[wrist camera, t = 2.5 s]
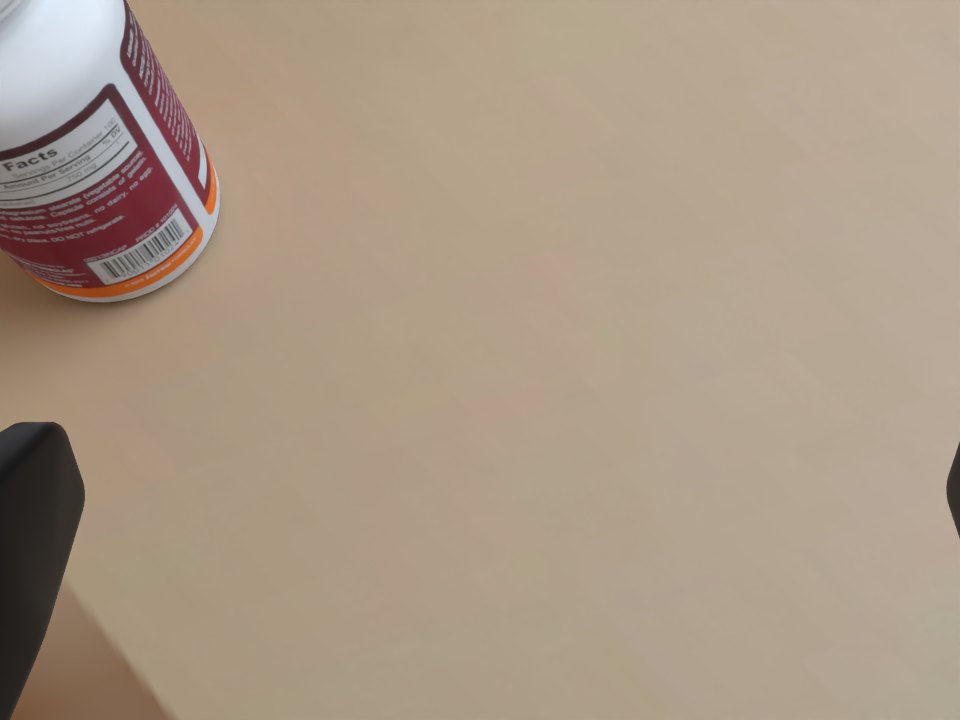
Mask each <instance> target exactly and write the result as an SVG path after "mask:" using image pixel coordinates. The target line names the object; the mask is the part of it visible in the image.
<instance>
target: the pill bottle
mask: <svg viewBox="0 0 960 720" xmlns="http://www.w3.org/2000/svg"><path fill="white" fill-rule="evenodd" d="M219 208H220V190H219V182H218V178H217V174H216V171H215V168H214V166H213V164H212V161H211V159H210V156H209V154H208V152H207V150H206V148H205V146H204V145H203V143H202V141H201V139H200V138H199V136H198V134H197V132H196V130H195V129H194V127H193V125H192V123H191V121H190V119H189V117H188V116H187V114H186V112H185V110H184V108H183V106H182V104H181V103H180V101H179V99H178V97H177V95H176V93H175V92H174V90H173V88H172V86H171V84H170V82H169V80H168V78H167V77H166V75H165V73H164V71H163V69H162V67H161V65H160V63H159V62H158V60H157V58H156V56H155V54H154V52H153V50H152V48H151V46H150V44H149V42H148V40H147V39H146V37H145V35H144V33H143V32H142V30H141V28H140V26H139V24H138V22H137V21H136V19H135V17H134V14H133V13H132V11H131V9H130V7H129V5H128V3H127V1H126V0H0V248H2V249H3V250H4V251H5V252H6V253H7V254H8V255H9V256H10V257H11V258H12V259H13V260H14V261H15V262H16V263H17V264H18V265H19V266H20V267H21V268H22V269H23V270H24V271H26V272H27V273H28V274H29V275H30V276H31V277H33V278H34V279H35V280H37V281H38V282H39V283H41V284H42V285H43V286H45V287H47V288H48V289H50V290H52V291H54V292H56V293H58V294H60V295H63V296H66V297H69V298H72V299H76V300H81V301H87V302H116V301H122V300H127V299H131V298H135V297H139V296H142V295H144V294H147V293H149V292H152V291H154V290H156V289H158V288H160V287H162V286H164V285H166V284H167V283H169V282H171V281H172V280H174V279H175V278H177V277H178V276H179V275H181V274H182V273H183V272H184V271H186V270H187V269H188V268H189V267H190V266H191V265H192V264H193V263H194V261H195V260H196V259H197V258H198V256H199V255H200V254H201V252H202V251H203V249H204V248H205V246H206V244H207V243H208V241H209V239H210V237H211V235H212V233H213V230H214V228H215V225H216V222H217V218H218V213H219Z"/></svg>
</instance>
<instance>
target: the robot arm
mask: <svg viewBox="0 0 960 720" xmlns="http://www.w3.org/2000/svg"><path fill="white" fill-rule="evenodd" d="M946 488H947V500H948V504H949V507H950V510H951V513H952V517H953V520H954V523H955V526H956V529H957V532H958V535H959V538H960V442H959V445H958V448H957V452H956V455H955V458H954V461H953V464H952V467H951V470H950V473H949V476H948V480H947V487H946ZM84 501H85V490H84V484H83V480H82V477H81V474H80V471H79V468H78V465H77V462H76V459H75V457H74V454H73V451H72V448H71V445H70V442H69V439H68V436H67V434H66V432H65V430H64V429H63V427H62V426H61V425H59V424H57V423H55V422H20V423H16V424H14V425H12V426H10V427H8V428H7V429H5V430H3V431H1V432H0V720H10V718H11V716H12V714H13V711H14V709H15V707H16V704H17V702H18V699H19V697H20V695H21V693H22V690H23V688H24V686H25V683H26V681H27V679H28V676H29V674H30V672H31V669H32V667H33V664H34V662H35V660H36V657H37V655H38V652H39V650H40V647H41V645H42V642H43V639H44V637H45V633H46V631H47V627H48V624H49V622H50V619H51V615H52V612H53V609H54V605H55V602H56V599H57V595H58V592H59V589H60V585H61V582H62V579H63V575H64V572H65V568H66V565H67V562H68V558H69V555H70V552H71V548H72V545H73V542H74V538H75V535H76V532H77V528H78V525H79V521H80V518H81V515H82V511H83V507H84Z"/></svg>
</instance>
